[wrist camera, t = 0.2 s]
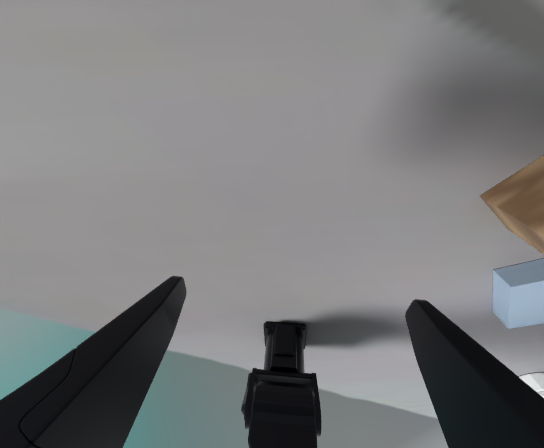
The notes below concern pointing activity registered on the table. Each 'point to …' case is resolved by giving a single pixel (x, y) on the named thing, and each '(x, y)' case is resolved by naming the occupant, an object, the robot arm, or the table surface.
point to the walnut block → (521, 203)
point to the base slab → (519, 294)
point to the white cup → (535, 382)
